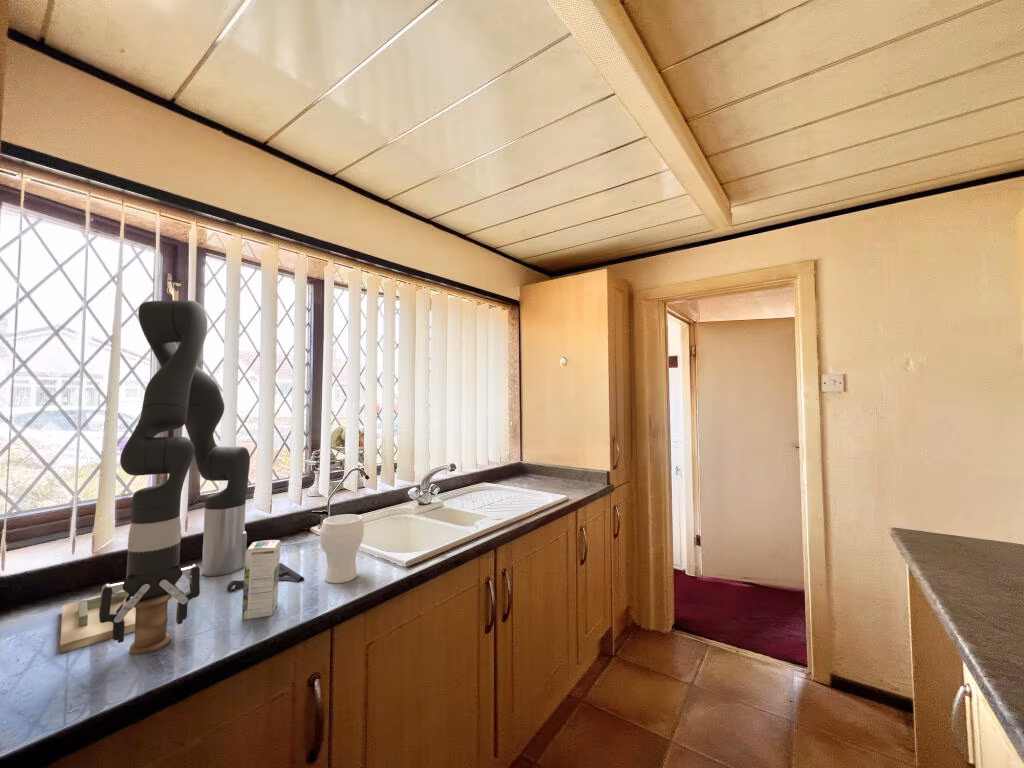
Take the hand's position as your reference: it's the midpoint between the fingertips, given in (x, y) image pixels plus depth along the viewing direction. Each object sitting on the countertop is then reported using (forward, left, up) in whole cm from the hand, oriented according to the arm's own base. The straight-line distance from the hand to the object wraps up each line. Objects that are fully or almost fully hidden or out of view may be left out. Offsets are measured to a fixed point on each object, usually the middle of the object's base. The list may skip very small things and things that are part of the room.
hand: (150, 631), depth 77 cm
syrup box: (-18, +1, -3) cm, 18 cm away
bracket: (-23, -16, -3) cm, 28 cm away
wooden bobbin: (0, 0, -3) cm, 3 cm away
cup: (-38, -4, -3) cm, 38 cm away
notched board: (+4, -19, -3) cm, 20 cm away
